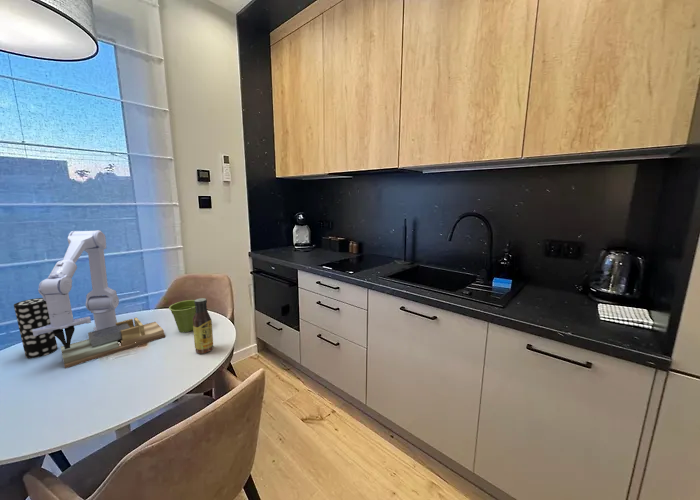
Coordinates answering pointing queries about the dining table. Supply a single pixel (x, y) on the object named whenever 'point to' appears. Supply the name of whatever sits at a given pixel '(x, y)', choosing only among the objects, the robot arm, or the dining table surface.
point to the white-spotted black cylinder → (34, 327)
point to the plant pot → (184, 314)
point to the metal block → (106, 334)
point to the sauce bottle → (202, 327)
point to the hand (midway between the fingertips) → (67, 347)
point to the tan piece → (112, 343)
